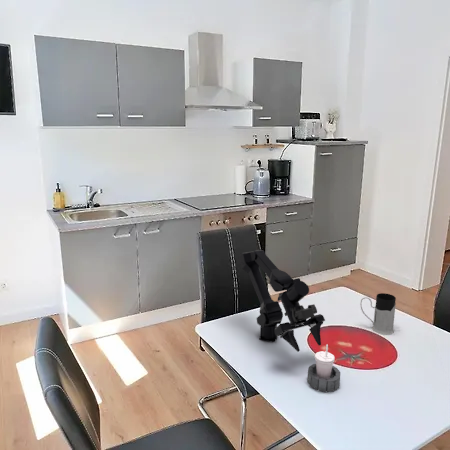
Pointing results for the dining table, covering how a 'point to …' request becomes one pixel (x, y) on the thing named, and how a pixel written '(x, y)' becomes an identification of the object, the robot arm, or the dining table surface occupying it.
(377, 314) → the grey mug
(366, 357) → the dining table surface
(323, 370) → the smoothie
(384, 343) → the dining table surface
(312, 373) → the stone ring
